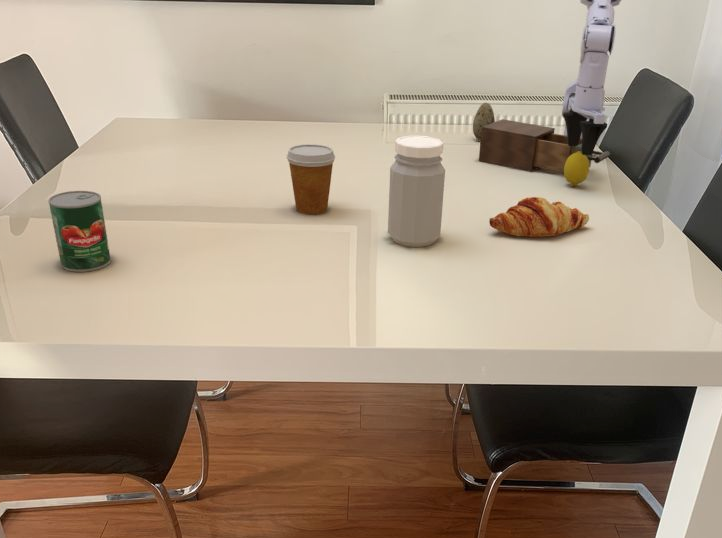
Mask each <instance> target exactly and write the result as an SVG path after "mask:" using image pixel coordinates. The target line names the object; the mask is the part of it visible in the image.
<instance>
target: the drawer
mask: <svg viewBox="0 0 722 538" xmlns="http://www.w3.org/2000/svg"><path fill="white" fill-rule="evenodd" d="M578 151H581V153H582V138H580V140H579V143H578V146H569V145H568V139H567V136H565V135H564V134H558V133H555V132H554V133H549V134H547V135H544V136H542V137H540V138H538V139H537V141H536V148H535V156H534V163H533V166H535V167H539V168H541V169H546V170H551V171H556V172H561V173H564V166H565V163H566V161H567V159H568V157H569V156H570V155H572V154H574V153H577V152H578ZM593 154H595V155H598V156H594V155H593ZM592 155H593V156H594V157H593V156H592ZM592 155H585V156H586V157H587V158H588V160H589V169H590V168H591V166H592V161H593V162H594V163H595V164H599V163H600V162H602V161H604V160H606V159H608V158H609V157H610V156H611V152H610V151H609V150H607V151H597V150H593V153H592Z"/></svg>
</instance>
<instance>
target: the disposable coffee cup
mask: <svg viewBox="0 0 722 538" xmlns="http://www.w3.org/2000/svg"><path fill="white" fill-rule="evenodd" d="M286 159H287V162H288V164H289V165H288V166H289V171H290V177H291V183H292V192H293V196H294V205H295V210H296V211H297V212H298V213H300V214H304V215H321V214H323V213H326V212H327V211H328V207H329V199H330V191H331V182H332V173H333V166H334V165H333V164H334V162H335V159H336V155H335V153H334V149H333V148H332V147H330V146H328V145H323V144H316V143H315V144H313V143H312V144H311V143H307V144H297V145H293V146H290V147H289V148H288V151H287V154H286Z"/></svg>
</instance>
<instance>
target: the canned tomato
mask: <svg viewBox="0 0 722 538" xmlns="http://www.w3.org/2000/svg"><path fill="white" fill-rule="evenodd" d="M48 204H49V211H50V215H51V220H52V225H53V230H54V235H55V241H56V242H55V243H56V246H57V251H58V257H59V260H60V266H61V268H62V269H63V270H65V271H69V272H73V273H86V272H93V271H98V270H101V269H103V268H105V267H107V266H109V265H110V264H111V261H112V258H111V253H110V246H109V240H108V234H107V229H106V220H105V216H104V209H103V203H102V196H101V195H100V194H99V193H98V192H95V191H91V190H90V191H89V190H72V191H70V190H69V191H63V192H60V193H57V194H54V195H52V196H51V197H49V198H48Z"/></svg>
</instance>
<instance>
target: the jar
mask: <svg viewBox="0 0 722 538" xmlns="http://www.w3.org/2000/svg"><path fill="white" fill-rule="evenodd" d="M394 152H395V153H396V154H395V155H394V161H393V162H392V164H391V165H390V168H389V191H388V192H389V193H388V213H387V214H388V217H387V233H388V235H389V237H390V238H391V239H392V241H393V242H394V243H396V244H398V245H400V246H405V247H410V248H418V247H419V248H422V247H428V246H430V245H431V246H432V245H433V244H434V243H435V242H436V241H437V240H438V238H440V236H441V232H442V231H441V230H442V219H443V218H442V217H443V206H444V191H445V180H446V179H445V178H446V169H445V167H444V165H443V163H441V162H443V158H442V157H441V155H442V154H443V153H444V142H443V141H441V139H439V138H436V137H433V136H426V135H405V136H400V137H398V138H397V139H395V141H394Z"/></svg>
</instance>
